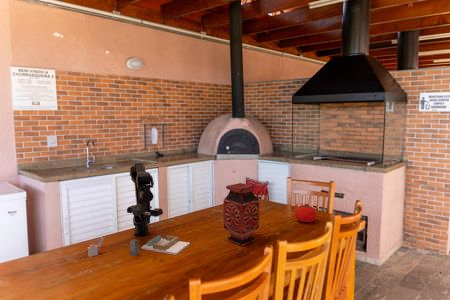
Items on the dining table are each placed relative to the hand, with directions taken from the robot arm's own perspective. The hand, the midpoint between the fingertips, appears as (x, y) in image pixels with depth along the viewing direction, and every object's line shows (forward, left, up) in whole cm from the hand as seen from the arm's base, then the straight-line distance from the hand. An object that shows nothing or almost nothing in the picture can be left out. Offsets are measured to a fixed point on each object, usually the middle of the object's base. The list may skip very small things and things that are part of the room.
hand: (145, 226), depth 177 cm
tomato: (+73, +68, -9) cm, 100 cm away
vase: (+46, +22, -9) cm, 51 cm away
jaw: (+6, 0, -8) cm, 9 cm away
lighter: (-13, -21, -9) cm, 27 cm away
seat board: (+13, 0, -9) cm, 15 cm away
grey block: (+4, -14, -9) cm, 17 cm away
